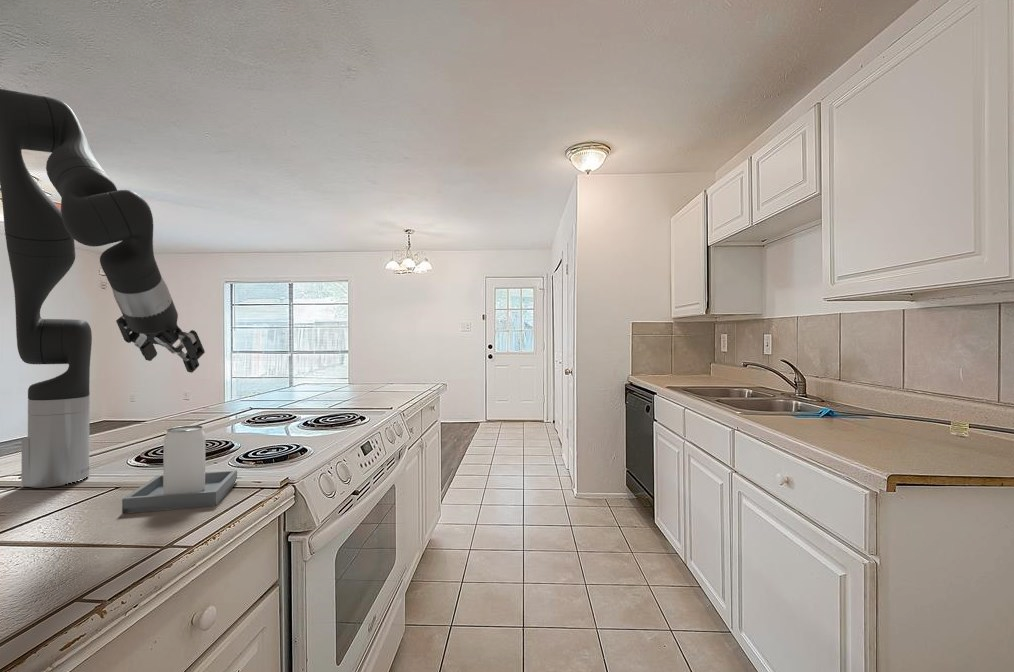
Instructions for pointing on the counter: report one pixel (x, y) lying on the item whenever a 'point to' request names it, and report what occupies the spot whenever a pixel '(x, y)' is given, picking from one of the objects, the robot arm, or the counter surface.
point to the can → (184, 460)
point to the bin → (179, 494)
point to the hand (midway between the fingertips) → (172, 363)
